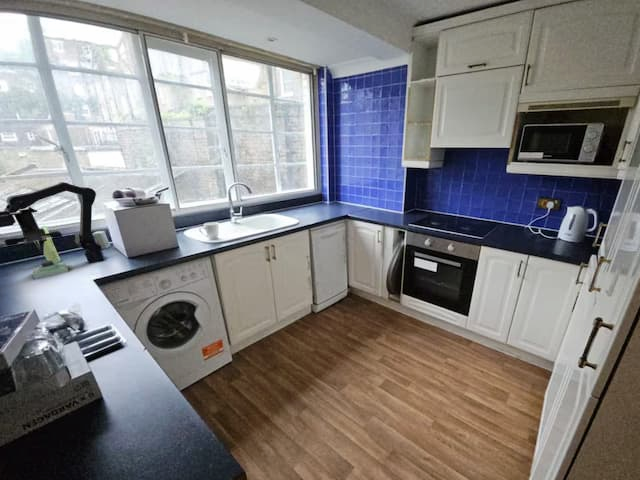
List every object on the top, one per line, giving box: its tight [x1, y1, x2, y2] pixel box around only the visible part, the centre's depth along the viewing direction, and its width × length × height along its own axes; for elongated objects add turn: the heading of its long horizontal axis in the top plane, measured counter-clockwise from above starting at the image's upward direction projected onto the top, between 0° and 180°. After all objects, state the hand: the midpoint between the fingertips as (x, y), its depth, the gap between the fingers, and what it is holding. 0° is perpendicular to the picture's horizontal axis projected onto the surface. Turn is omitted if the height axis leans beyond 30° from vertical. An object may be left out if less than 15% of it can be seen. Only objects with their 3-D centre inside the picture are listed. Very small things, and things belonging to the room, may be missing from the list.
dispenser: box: [32, 262, 69, 280], centre depth 147 cm, size 12×10×4 cm
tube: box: [36, 225, 61, 263], centre depth 157 cm, size 6×5×20 cm
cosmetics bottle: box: [92, 230, 111, 250], centre depth 180 cm, size 5×4×10 cm
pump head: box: [40, 260, 54, 267], centre depth 146 cm, size 4×4×2 cm
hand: (42, 254), depth 143 cm, fingers closed
